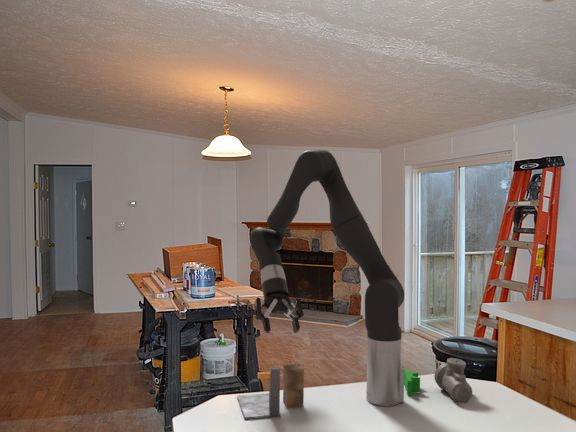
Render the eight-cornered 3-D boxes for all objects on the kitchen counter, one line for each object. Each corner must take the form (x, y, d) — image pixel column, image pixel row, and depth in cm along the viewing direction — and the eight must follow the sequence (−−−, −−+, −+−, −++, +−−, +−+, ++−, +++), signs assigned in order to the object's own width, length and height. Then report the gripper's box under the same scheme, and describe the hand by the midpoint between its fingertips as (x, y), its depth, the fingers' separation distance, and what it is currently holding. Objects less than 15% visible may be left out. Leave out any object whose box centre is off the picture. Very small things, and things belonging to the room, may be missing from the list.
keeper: (269, 395, 139) (269, 352, 139) (280, 416, 125) (281, 368, 125) (237, 397, 137) (237, 354, 137) (244, 419, 123) (245, 371, 123)
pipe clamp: (421, 397, 140) (421, 381, 140) (407, 397, 140) (408, 380, 140) (416, 384, 151) (416, 368, 151) (403, 383, 151) (403, 368, 151)
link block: (299, 400, 136) (299, 363, 136) (303, 406, 131) (303, 368, 131) (283, 401, 135) (283, 364, 135) (286, 408, 130) (287, 369, 130)
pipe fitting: (432, 386, 147) (436, 353, 146) (459, 388, 147) (463, 355, 146) (445, 406, 135) (450, 370, 134) (474, 409, 135) (480, 373, 134)
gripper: (255, 275, 147) (262, 325, 137) (299, 277, 152) (310, 325, 142) (248, 289, 152) (255, 338, 142) (291, 290, 157) (301, 337, 147)
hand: (282, 331), depth 142 cm, fingers open, 8 cm apart
